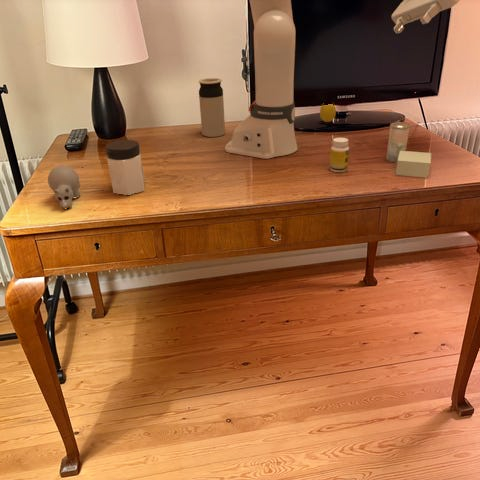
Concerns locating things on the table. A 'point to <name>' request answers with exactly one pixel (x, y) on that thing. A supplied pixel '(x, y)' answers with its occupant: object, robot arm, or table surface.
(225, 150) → the robot arm
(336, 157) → the supplement bottle
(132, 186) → the jar
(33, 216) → the table surface
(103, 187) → the table surface
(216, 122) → the travel mug
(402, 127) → the clear glass canister
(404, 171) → the block
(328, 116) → the lemon
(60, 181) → the round bodied animal figurine
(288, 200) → the table surface
